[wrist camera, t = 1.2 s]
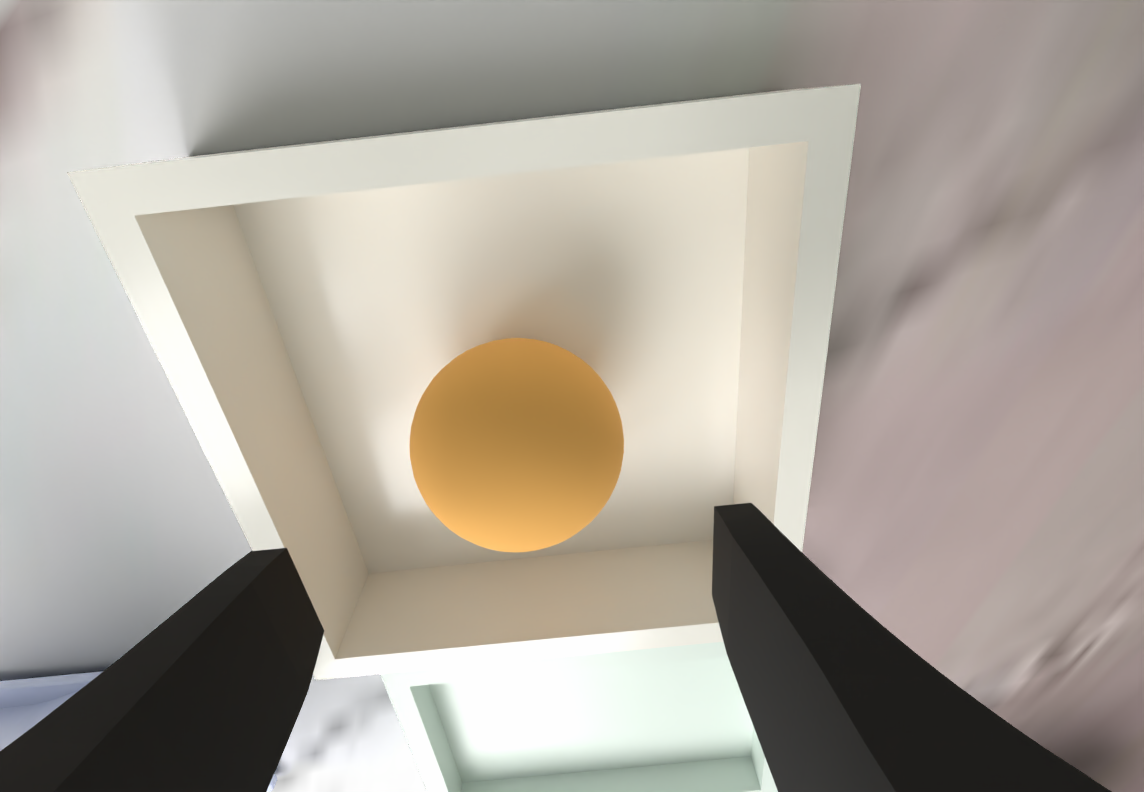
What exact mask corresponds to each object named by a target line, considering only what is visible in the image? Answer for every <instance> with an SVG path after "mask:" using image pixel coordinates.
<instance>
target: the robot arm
mask: <svg viewBox="0 0 1144 792" xmlns="http://www.w3.org/2000/svg"><path fill="white" fill-rule="evenodd" d="M712 598H713V602H714V606H715V610H716V614H717V618H718V622H719V626H720V630H721V634H722V638H723V641H724V645H725V649H726V653H727V656H728V659H729V661H730V664H731V667H732V670H733V672H734V675H735V678H736V681H737V683H738V686H739V689H740V691H741V694H742V697H743V699H744V702H745V705H746V708H747V710H748V713H749V716H750V718H751V721H752V724H753V726H754V729H755V732H756V734H757V737H758V740H759V742H760V745H761V748H762V750H763V753H764V756H765V758H766V761H767V764H768V766H769V769H770V772H771V774H772V777H773V780H774V782H775V785H776V788H777V790H778V792H1111V791H1110V790H1108V789H1107V788H1105V787H1104V786H1102V785H1101V784H1099V783H1097V782H1096V781H1094V780H1093V779H1091V778H1090V777H1088V776H1087V775H1085V774H1084V773H1082V772H1081V771H1079V770H1078V769H1076V768H1074V767H1073V766H1071V765H1070V764H1068V763H1067V762H1065V761H1064V760H1062V759H1061V758H1059V757H1058V756H1056V755H1054V754H1053V753H1051V752H1050V751H1048V750H1047V749H1045V748H1044V747H1042V746H1041V745H1039V744H1038V743H1037V742H1035V741H1034V740H1032V739H1031V738H1029V737H1028V736H1026V735H1025V734H1023V733H1022V732H1021V731H1019V730H1018V729H1016V728H1015V727H1013V726H1012V725H1010V724H1009V723H1008V722H1006V721H1005V720H1003V719H1002V718H1001V717H999V716H998V715H997V714H995V713H994V712H992V711H991V710H990V709H988V708H987V707H986V706H984V705H983V704H982V703H980V702H979V701H977V700H976V699H975V698H973V697H972V696H971V695H969V694H968V693H967V692H965V691H964V690H962V689H961V688H960V687H958V686H957V685H956V684H954V683H953V682H952V681H950V680H949V679H948V678H947V677H945V676H944V675H943V674H941V673H940V672H939V671H938V670H936V669H935V668H934V667H932V666H931V665H930V664H929V663H927V662H926V661H925V660H924V659H922V658H921V657H920V656H919V655H917V654H916V653H915V652H914V651H912V650H911V649H910V648H909V647H908V646H906V645H905V644H904V643H903V642H902V641H900V640H899V639H898V638H897V637H896V636H894V635H893V634H892V633H891V632H889V631H888V630H887V629H886V628H885V627H883V626H882V625H881V624H880V623H879V622H878V621H876V620H875V619H874V618H873V617H872V616H871V615H870V614H868V613H867V612H866V611H865V610H864V609H863V608H861V607H860V606H859V605H858V604H857V603H856V602H855V601H854V600H853V599H851V598H850V597H849V596H848V595H847V594H846V593H845V592H844V591H843V590H842V589H840V588H839V587H838V586H837V585H836V584H835V583H834V582H833V581H832V580H831V579H829V578H828V577H827V576H826V575H825V574H824V573H823V572H822V571H821V570H820V569H819V568H818V567H817V566H815V565H814V564H813V563H812V562H811V561H810V560H809V559H808V558H807V557H806V556H805V555H804V554H803V553H802V552H801V551H800V550H799V549H798V548H797V547H796V546H795V545H794V544H793V543H792V542H791V541H790V540H789V539H788V538H787V537H786V536H785V535H784V534H783V533H782V532H781V531H780V530H779V529H778V528H777V527H776V526H775V525H774V524H773V523H772V522H771V521H770V520H769V519H768V518H767V517H766V516H765V515H764V514H763V513H762V512H761V511H760V510H759V509H758V508H757V507H756V506H754V505H753V504H752V503H743V504H732V505H722V506H714V528H713V565H712ZM323 634H324V629H323V627H322V624H321V622H320V620H319V618H318V616H317V613H316V611H315V609H314V607H313V605H312V602H311V600H310V598H309V596H308V594H307V591H306V589H305V587H304V585H303V582H302V580H301V578H300V576H299V574H298V571H297V569H296V567H295V565H294V563H293V560H292V558H291V556H290V554H289V552H288V549H287V548H279V549H269V550H258V551H251V552H250V553H248V554H247V555H246V556H244V557H243V558H242V559H240V560H239V561H238V562H236V563H235V564H234V565H232V566H231V567H230V568H229V569H227V570H226V571H225V572H224V573H222V574H221V575H220V576H219V577H217V578H216V579H215V580H214V581H213V582H211V583H210V584H209V585H208V586H206V587H205V588H204V589H203V590H202V591H200V592H199V593H198V594H197V595H196V596H194V597H193V598H192V599H191V600H190V601H188V602H187V603H186V604H185V605H184V606H182V607H181V608H180V609H179V610H178V611H177V612H175V613H174V614H173V615H172V616H170V617H169V618H168V619H167V620H166V621H164V622H163V623H162V624H161V625H160V626H158V627H157V628H156V629H155V630H154V631H152V632H151V633H150V634H149V635H148V636H146V637H145V638H144V639H143V640H142V641H140V642H139V643H138V644H137V645H135V646H134V647H133V648H132V649H131V650H129V651H128V652H127V653H126V654H125V655H123V656H122V657H121V658H120V659H118V660H117V661H116V662H115V663H114V664H112V665H111V666H110V667H108V668H107V669H106V670H105V671H101V672H90V673H80V674H69V675H59V676H49V677H38V678H28V679H17V680H7V681H0V792H270V791H272V790H273V789H274V786H275V784H276V781H277V778H276V776H275V774H274V772H275V770H276V768H277V765H278V763H279V761H280V758H281V756H282V753H283V751H284V749H285V746H286V744H287V741H288V739H289V737H290V734H291V732H292V729H293V727H294V724H295V722H296V719H297V717H298V715H299V712H300V710H301V707H302V705H303V702H304V700H305V697H306V695H307V692H308V688H309V685H310V682H311V678H312V675H313V672H314V668H315V665H316V661H317V657H318V654H319V650H320V646H321V642H322V638H323Z"/></svg>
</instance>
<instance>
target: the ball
mask: <svg viewBox="0 0 1144 792" xmlns="http://www.w3.org/2000/svg"><path fill="white" fill-rule="evenodd" d="M409 448H410V461H411V465H412V470H413V475H414V479H415V481H416V484H417V487H418V489H419V491H420V493H421V495H422V497H423V499H424V501H425V502H426V504H427V506H428V507H429V508H430V510H431V511H432V512H433V514H434V515H435V516H436V517H437V518H438V519H439V520H440V521H441V522H442V523H443V524H444V525H445V526H446V527H447V528H449V529H450V530H451V531H452V532H454V533H455V534H457V535H458V536H460V537H461V538H463V539H465V540H467V541H469V542H471V543H473V544H476V545H478V546H481V547H484V548H487V549H491V550H496V551H502V552H529V551H536V550H540V549H544V548H547V547H551V546H553V545H556V544H559V543H561V542H563V541H565V540H567V539H569V538H571V537H572V536H574V535H575V534H577V533H578V532H579V531H581V530H582V529H583V528H585V527H586V526H587V525H588V524H589V523H590V522H592V520H593V519H594V518H595V517H596V516H597V515H598V514H599V513H600V511H601V510H602V509H603V507H604V506H605V504H606V503H607V501H608V500H609V498H610V496H611V494H612V492H613V490H614V488H615V486H616V484H617V481H618V478H619V475H620V472H621V467H622V461H623V454H624V435H623V427H622V421H621V417H620V414H619V411H618V408H617V405H616V403H615V400H614V398H613V396H612V394H611V392H610V391H609V389H608V388H607V386H606V385H605V383H604V382H603V380H602V379H601V378H600V376H599V375H598V374H597V373H596V372H595V371H594V370H593V369H592V368H591V367H590V366H589V365H588V364H587V363H586V362H584V361H583V360H582V359H580V358H579V357H577V356H576V355H574V354H573V353H571V352H570V351H568V350H566V349H563V348H561V347H559V346H557V345H554V344H551V343H548V342H545V341H540V340H536V339H528V338H506V339H500V340H494V341H491V342H488V343H484V344H481V345H478V346H476V347H474V348H472V349H469V350H467V351H465V352H464V353H462V354H460V355H459V356H457V357H456V358H454V359H453V360H452V361H451V362H450V363H448V364H447V365H446V366H445V367H444V368H442V369H441V370H440V371H439V373H438V374H437V375H436V376H435V377H434V378H433V379H432V381H431V382H430V384H429V385H428V387H427V388H426V390H425V391H424V393H423V395H422V397H421V399H420V401H419V403H418V405H417V408H416V411H415V414H414V418H413V421H412V425H411V432H410V444H409Z"/></svg>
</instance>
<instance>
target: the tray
mask: <svg viewBox="0 0 1144 792" xmlns="http://www.w3.org/2000/svg"><path fill="white" fill-rule="evenodd" d="M380 675H381V678H382V680H383V683H384V685H385V688H386V690H387V693H388V695H389V698H390V700H391V703H392V705H393V708H394V710H395V713H396V715H397V717H398V720H399V722H400V725H401V727H402V730H403V732H404V735H405V737H406V740H407V742H408V745H409V747H410V750H411V752H412V755H413V757H414V760H415V762H416V765H417V767H418V770H419V772H420V775H421V777H422V780H423V782H424V785H425V787H426V790H427V792H778V790H777V788H776V785H775V782H774V780H773V777H772V774H771V772H770V769H769V766H768V764H767V761H766V758H765V756H764V753H763V750H762V748H761V745H760V742H759V740H758V737H757V734H756V732H755V729H754V726H753V724H752V721H751V718H750V716H749V713H748V710H747V708H746V705H745V702H744V699H743V697H742V694H741V691H740V689H739V686H738V683H737V681H736V678H735V675H734V672H733V670H732V667H731V664H730V661H729V659H728V656H727V653H726V649H725V645H724V642H715V643H704V644H694V645H683V646H673V647H662V648H651V649H641V650H630V651H620V652H609V653H599V654H588V655H578V656H567V657H557V658H546V659H536V660H525V661H515V662H504V663H493V664H483V665H472V666H462V667H451V668H441V669H430V670H420V671H409V672H399V673H388V674H380Z"/></svg>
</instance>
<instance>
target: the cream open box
mask: <svg viewBox="0 0 1144 792" xmlns="http://www.w3.org/2000/svg"><path fill="white" fill-rule="evenodd" d="M860 89H861V84H850V85H838V86H826V87H814V88H801V89H789V90H779V91H770V92H761V93H752V94H743V95H734V96H725V97H716V98H707V99H698V100H689V101H680V102H672V103H663V104H654V105H645V106H636V107H627V108H618V109H609V110H600V111H591V112H582V113H573V114H564V115H556V116H547V117H538V118H529V119H520V120H511V121H502V122H493V123H484V124H475V125H466V126H457V127H448V128H439V129H431V130H422V131H413V132H404V133H395V134H386V135H377V136H368V137H359V138H350V139H341V140H332V141H323V142H315V143H306V144H297V145H288V146H279V147H270V148H261V149H252V150H243V151H234V152H225V153H216V154H207V155H199V156H190V157H182V158H174V159H166V160H159V161H151V162H143V163H136V164H128V165H121V166H113V167H105V168H98V169H90V170H83V171H75V172H67V174H68V176H69V178H70V180H71V182H72V184H73V186H74V188H75V190H76V192H77V195H78V197H79V199H80V201H81V203H82V205H83V207H84V209H85V211H86V213H87V215H88V217H89V219H90V221H91V223H92V225H93V227H94V229H95V231H96V233H97V235H98V237H99V239H100V241H101V243H102V246H103V248H104V250H105V252H106V254H107V256H108V258H109V260H110V262H111V264H112V266H113V268H114V270H115V272H116V274H117V276H118V278H119V280H120V282H121V284H122V286H123V288H124V290H125V292H126V294H127V297H128V299H129V301H130V303H131V305H132V307H133V309H134V311H135V313H136V315H137V317H138V319H139V321H140V323H141V325H142V327H143V329H144V331H145V333H146V335H147V337H148V339H149V341H150V343H151V345H152V348H153V350H154V352H155V354H156V356H157V358H158V360H159V362H160V364H161V366H162V368H163V370H164V372H165V374H166V376H167V378H168V380H169V382H170V384H171V386H172V388H173V390H174V392H175V394H176V396H177V398H178V401H179V403H180V405H181V407H182V409H183V411H184V413H185V415H186V417H187V419H188V421H189V423H190V425H191V427H192V429H193V431H194V433H195V435H196V437H197V439H198V441H199V443H200V445H201V447H202V449H203V452H204V454H205V456H206V458H207V460H208V462H209V464H210V466H211V468H212V470H213V472H214V474H215V476H216V478H217V480H218V482H219V484H220V486H221V488H222V490H223V492H224V494H225V496H226V498H227V500H228V503H229V505H230V507H231V509H232V511H233V513H234V515H235V517H236V519H237V521H238V523H239V525H240V527H241V529H242V531H243V533H244V535H245V537H246V539H247V541H248V543H249V545H250V547H251V549H252V551H258V550H269V549H279V548H287V549H288V552H289V554H290V556H291V558H292V560H293V563H294V565H295V567H296V569H297V571H298V574H299V576H300V578H301V580H302V582H303V585H304V587H305V589H306V591H307V594H308V596H309V598H310V600H311V602H312V605H313V607H314V609H315V611H316V613H317V616H318V618H319V620H320V622H321V624H322V627H323V629H324V634H323V638H322V642H321V646H320V650H319V654H318V657H317V661H316V665H315V668H314V672H313V676H314V678H315V680H325V679H335V678H346V677H356V676H367V675H378V674H388V673H399V672H409V671H420V670H430V669H441V668H451V667H462V666H472V665H483V664H493V663H504V662H515V661H525V660H536V659H546V658H557V657H567V656H578V655H588V654H599V653H609V652H620V651H630V650H641V649H651V648H662V647H673V646H683V645H694V644H704V643H715V642H724V641H723V638H722V634H721V630H720V626H719V622H718V618H717V614H716V610H715V606H714V602H713V598H712V565H713V528H714V506H722V505H732V504H743V503H752V504H753V505H754V506H756V507H757V508H758V509H759V510H760V511H761V512H762V513H763V514H764V515H765V516H766V517H767V518H768V519H769V520H770V521H771V522H772V523H773V524H774V525H775V526H776V527H777V528H778V529H779V530H780V531H781V532H782V533H783V534H784V535H785V536H786V537H787V538H788V539H789V540H790V541H791V542H792V543H793V544H794V545H795V546H796V547H797V548H798V549H799V550H800V551H801V552H802V548H803V540H804V532H805V524H806V516H807V509H808V501H809V493H810V485H811V477H812V469H813V461H814V453H815V445H816V437H817V429H818V421H819V413H820V406H821V398H822V390H823V382H824V374H825V366H826V358H827V350H828V342H829V334H830V326H831V318H832V310H833V303H834V295H835V287H836V279H837V271H838V263H839V255H840V247H841V239H842V231H843V223H844V215H845V207H846V199H847V192H848V184H849V176H850V168H851V160H852V152H853V144H854V136H855V128H856V120H857V112H858V104H859V96H860ZM506 338H528V339H536V340H540V341H545V342H548V343H551V344H554V345H557V346H559V347H561V348H563V349H566V350H568V351H570V352H571V353H573V354H574V355H576V356H577V357H579V358H580V359H582V360H583V361H584V362H586V363H587V364H588V365H589V366H590V367H591V368H592V369H593V370H594V371H595V372H596V373H597V374H598V375H599V376H600V378H601V379H602V380H603V382H604V383H605V385H606V386H607V388H608V389H609V391H610V392H611V394H612V396H613V398H614V400H615V403H616V405H617V408H618V411H619V414H620V417H621V421H622V427H623V435H624V454H623V461H622V467H621V472H620V475H619V478H618V481H617V484H616V486H615V488H614V490H613V492H612V494H611V496H610V498H609V500H608V501H607V503H606V504H605V506H604V507H603V509H602V510H601V511H600V513H599V514H598V515H597V516H596V517H595V518H594V519H593V520H592V522H590V523H589V524H588V525H587V526H586V527H585V528H583V529H582V530H581V531H579V532H578V533H577V534H575V535H574V536H572V537H571V538H569V539H567V540H565V541H563V542H561V543H559V544H556V545H553V546H551V547H547V548H544V549H540V550H536V551H529V552H502V551H496V550H491V549H487V548H484V547H481V546H478V545H476V544H473V543H471V542H469V541H467V540H465V539H463V538H461V537H460V536H458V535H457V534H455V533H454V532H452V531H451V530H450V529H449V528H447V527H446V526H445V525H444V524H443V523H442V522H441V521H440V520H439V519H438V518H437V517H436V516H435V515H434V514H433V512H432V511H431V510H430V508H429V507H428V506H427V504H426V502H425V501H424V499H423V497H422V495H421V493H420V491H419V489H418V487H417V484H416V481H415V479H414V475H413V470H412V465H411V461H410V448H409V444H410V432H411V425H412V421H413V418H414V414H415V411H416V408H417V405H418V403H419V401H420V399H421V397H422V395H423V393H424V391H425V390H426V388H427V387H428V385H429V384H430V382H431V381H432V379H433V378H434V377H435V376H436V375H437V374H438V373H439V371H440V370H441V369H442V368H444V367H445V366H446V365H447V364H448V363H450V362H451V361H452V360H453V359H454V358H456V357H457V356H459V355H460V354H462V353H464V352H465V351H467V350H469V349H472V348H474V347H476V346H478V345H481V344H484V343H488V342H491V341H494V340H500V339H506Z"/></svg>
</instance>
